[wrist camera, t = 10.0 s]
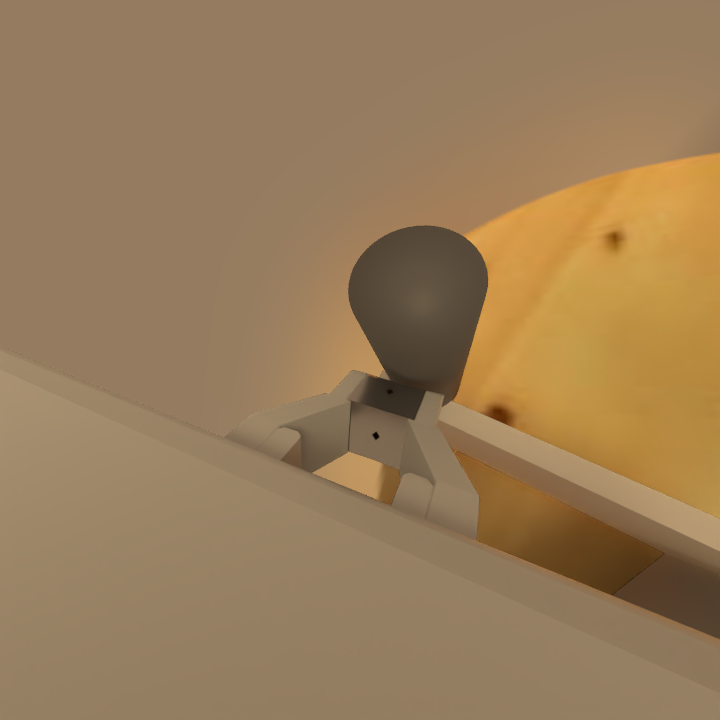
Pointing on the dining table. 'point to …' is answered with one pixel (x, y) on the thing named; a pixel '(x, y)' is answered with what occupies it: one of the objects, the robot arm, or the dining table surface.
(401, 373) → the flap
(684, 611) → the carton
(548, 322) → the dining table surface
